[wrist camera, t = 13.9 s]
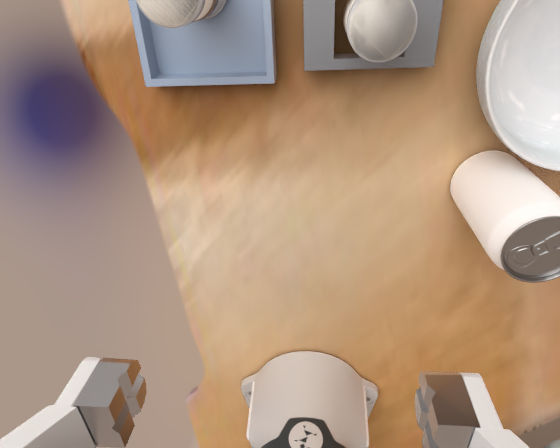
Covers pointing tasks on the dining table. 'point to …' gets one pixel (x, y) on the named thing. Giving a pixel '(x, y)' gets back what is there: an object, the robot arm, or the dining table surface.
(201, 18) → the fuse
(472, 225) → the can
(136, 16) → the parts tray
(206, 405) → the dining table surface
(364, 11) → the block
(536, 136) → the cereal bowl
